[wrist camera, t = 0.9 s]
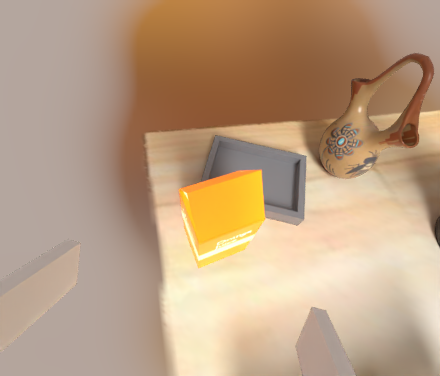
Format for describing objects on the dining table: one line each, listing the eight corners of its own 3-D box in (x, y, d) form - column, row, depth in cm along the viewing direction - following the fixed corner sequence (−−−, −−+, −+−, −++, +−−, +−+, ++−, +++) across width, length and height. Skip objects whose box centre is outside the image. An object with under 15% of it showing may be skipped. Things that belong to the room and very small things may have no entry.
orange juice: (245, 250, 40) (280, 199, 23) (198, 269, 38) (198, 228, 21) (227, 212, 44) (247, 142, 27) (183, 227, 42) (173, 163, 24)
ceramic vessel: (299, 141, 55) (365, 25, 33) (331, 136, 56) (414, 23, 35) (331, 201, 47) (444, 101, 25) (367, 193, 49) (502, 94, 27)
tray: (300, 164, 51) (306, 155, 49) (297, 225, 44) (304, 219, 41) (214, 144, 52) (215, 135, 49) (196, 201, 44) (196, 193, 42)
